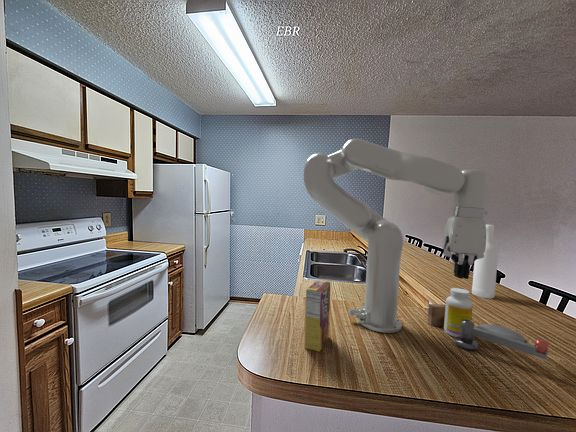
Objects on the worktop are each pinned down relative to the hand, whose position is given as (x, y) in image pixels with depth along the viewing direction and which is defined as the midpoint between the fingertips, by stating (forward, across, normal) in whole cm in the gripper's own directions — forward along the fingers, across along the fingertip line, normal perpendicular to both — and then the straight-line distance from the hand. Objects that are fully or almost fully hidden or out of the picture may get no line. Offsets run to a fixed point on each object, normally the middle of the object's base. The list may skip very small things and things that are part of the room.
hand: (461, 277), depth 80 cm
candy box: (+18, +41, +7) cm, 46 cm away
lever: (+16, -3, +12) cm, 20 cm away
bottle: (+16, -34, -35) cm, 52 cm away
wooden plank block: (+17, -2, -6) cm, 18 cm away
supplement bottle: (+17, 0, 0) cm, 17 cm away
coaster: (+16, -14, 0) cm, 21 cm away
